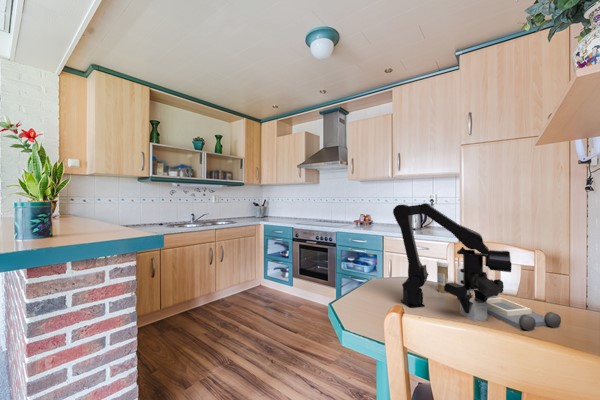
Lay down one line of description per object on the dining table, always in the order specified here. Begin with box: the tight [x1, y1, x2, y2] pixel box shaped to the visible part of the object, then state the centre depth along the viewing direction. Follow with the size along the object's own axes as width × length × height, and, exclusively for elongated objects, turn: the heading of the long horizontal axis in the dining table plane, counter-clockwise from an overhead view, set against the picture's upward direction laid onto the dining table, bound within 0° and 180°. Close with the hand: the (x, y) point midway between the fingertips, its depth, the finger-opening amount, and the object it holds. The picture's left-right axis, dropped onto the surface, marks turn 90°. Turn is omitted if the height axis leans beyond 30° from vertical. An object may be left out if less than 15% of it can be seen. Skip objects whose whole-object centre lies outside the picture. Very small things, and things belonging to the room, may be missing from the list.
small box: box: [456, 265, 474, 296], centre depth 114 cm, size 8×6×10 cm
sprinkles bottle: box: [436, 260, 449, 294], centre depth 114 cm, size 5×5×14 cm
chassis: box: [469, 291, 562, 332], centre depth 92 cm, size 14×25×4 cm, turn 11°
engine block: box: [459, 296, 488, 322], centre depth 89 cm, size 5×6×6 cm
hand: (473, 312), depth 89 cm, fingers closed on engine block, 5 cm apart
